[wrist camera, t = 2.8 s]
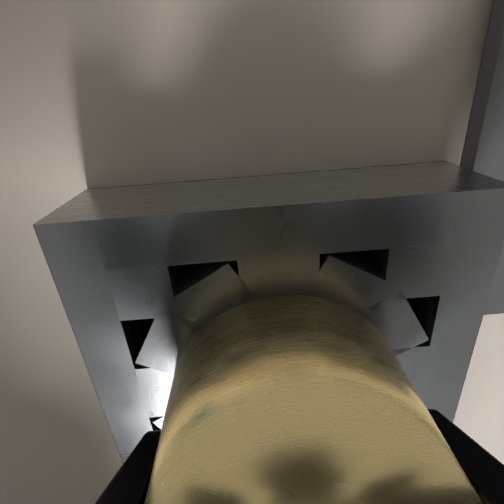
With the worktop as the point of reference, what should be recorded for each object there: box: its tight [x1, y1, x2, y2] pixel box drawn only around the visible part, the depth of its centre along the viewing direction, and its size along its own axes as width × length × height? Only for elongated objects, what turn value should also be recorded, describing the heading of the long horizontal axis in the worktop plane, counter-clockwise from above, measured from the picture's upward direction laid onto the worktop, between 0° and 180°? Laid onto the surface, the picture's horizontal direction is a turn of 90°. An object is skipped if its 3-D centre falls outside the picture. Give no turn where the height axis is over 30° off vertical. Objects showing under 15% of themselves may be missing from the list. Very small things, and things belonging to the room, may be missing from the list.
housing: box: [33, 162, 504, 464], centre depth 11 cm, size 11×11×3 cm
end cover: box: [145, 295, 482, 504], centre depth 9 cm, size 6×6×7 cm
